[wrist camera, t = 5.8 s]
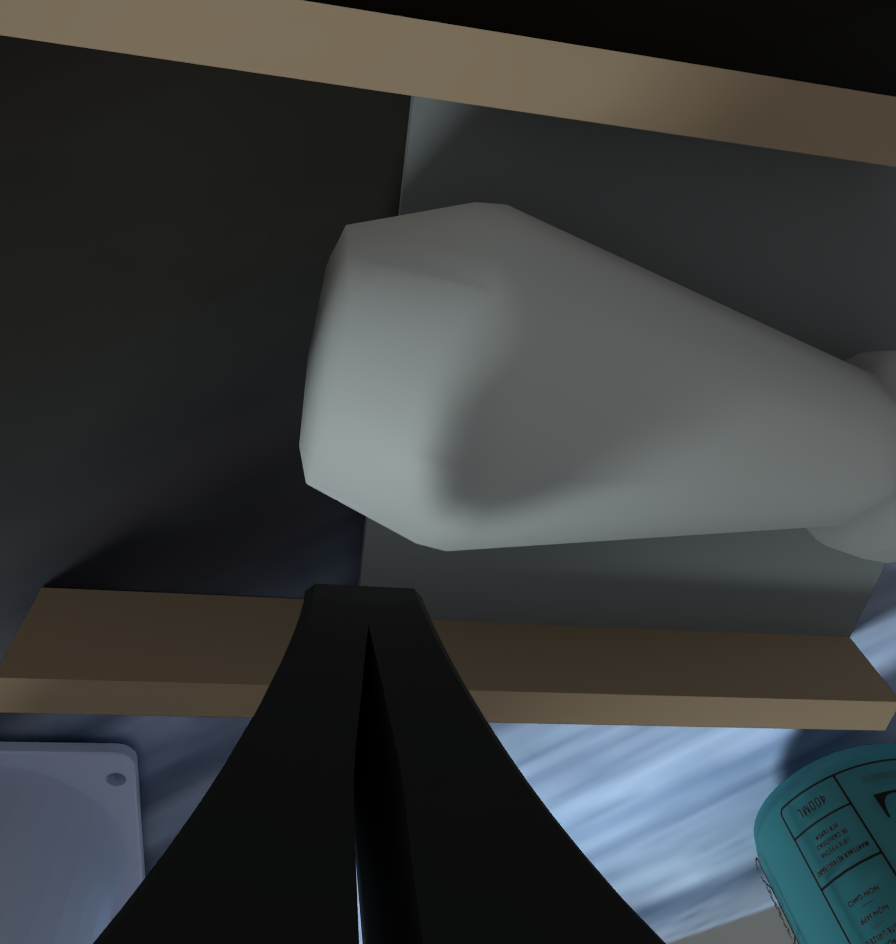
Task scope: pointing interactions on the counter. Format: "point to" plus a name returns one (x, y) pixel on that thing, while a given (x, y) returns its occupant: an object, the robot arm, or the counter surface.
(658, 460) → the salt shaker
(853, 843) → the beverage bottle
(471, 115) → the tan u-shaped piece
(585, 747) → the counter surface
